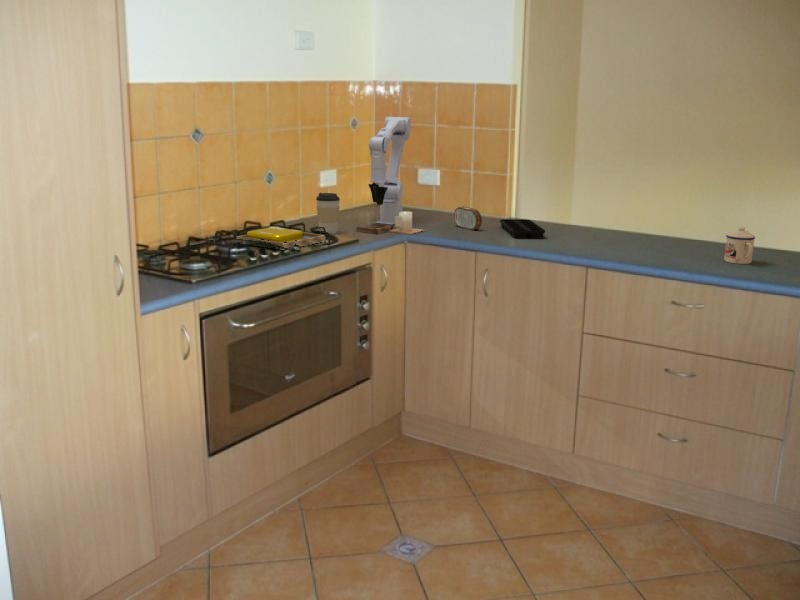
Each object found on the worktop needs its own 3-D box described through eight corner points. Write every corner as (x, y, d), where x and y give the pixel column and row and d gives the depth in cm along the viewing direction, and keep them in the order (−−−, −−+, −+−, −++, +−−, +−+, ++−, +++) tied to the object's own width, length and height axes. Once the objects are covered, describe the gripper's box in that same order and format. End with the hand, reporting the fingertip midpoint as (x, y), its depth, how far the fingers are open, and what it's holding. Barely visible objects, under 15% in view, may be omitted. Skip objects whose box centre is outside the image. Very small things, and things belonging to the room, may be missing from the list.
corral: (278, 235, 320) (278, 228, 319) (325, 242, 308) (325, 235, 308) (236, 243, 302) (236, 236, 301) (285, 251, 290) (284, 243, 290)
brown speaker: (482, 231, 340) (482, 209, 338) (475, 231, 339) (476, 210, 337) (458, 225, 352) (459, 204, 350) (452, 226, 351) (453, 205, 349)
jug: (400, 232, 328) (400, 214, 327) (391, 230, 332) (391, 212, 330) (414, 230, 333) (414, 212, 332) (406, 228, 337) (406, 210, 335)
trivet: (403, 228, 341) (403, 227, 341) (424, 231, 336) (424, 229, 336) (389, 231, 333) (389, 230, 333) (411, 234, 328) (411, 233, 328)
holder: (373, 227, 341) (373, 223, 341) (392, 230, 336) (392, 225, 336) (356, 231, 332) (356, 226, 332) (376, 234, 327) (376, 229, 327)
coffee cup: (341, 231, 332) (341, 192, 329) (337, 234, 324) (337, 194, 320) (318, 230, 333) (318, 191, 330) (313, 234, 325) (313, 194, 321)
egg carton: (516, 241, 322) (516, 231, 321) (486, 228, 350) (486, 219, 349) (558, 239, 327) (559, 230, 326) (526, 227, 354) (526, 218, 354)
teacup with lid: (718, 259, 294) (722, 225, 291) (742, 258, 295) (746, 225, 292) (736, 266, 282) (741, 231, 279) (762, 266, 284) (766, 230, 281)
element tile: (244, 243, 304) (244, 230, 303) (273, 238, 316) (273, 225, 315) (277, 248, 296) (277, 235, 295) (305, 242, 308) (305, 229, 307)
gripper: (392, 170, 328) (391, 205, 332) (384, 166, 342) (383, 200, 345) (374, 170, 327) (373, 206, 330) (367, 166, 341) (366, 200, 344)
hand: (377, 203), depth 338 cm, fingers open, 7 cm apart
